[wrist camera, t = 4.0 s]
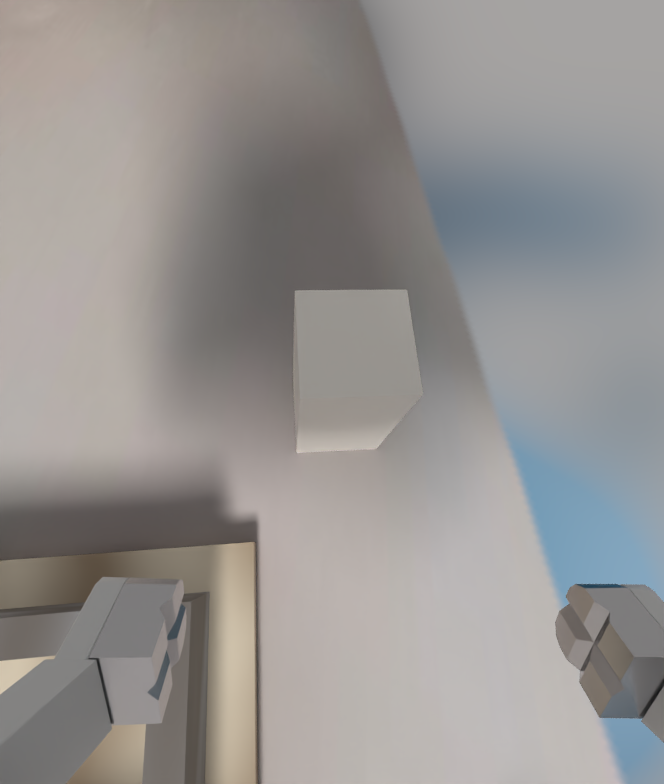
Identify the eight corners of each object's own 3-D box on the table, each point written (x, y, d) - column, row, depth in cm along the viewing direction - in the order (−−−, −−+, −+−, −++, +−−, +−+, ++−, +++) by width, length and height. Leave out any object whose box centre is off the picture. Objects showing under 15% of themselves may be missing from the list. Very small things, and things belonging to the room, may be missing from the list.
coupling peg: (296, 453, 21) (300, 398, 13) (293, 377, 22) (295, 290, 15) (376, 448, 21) (423, 394, 14) (367, 375, 23) (406, 289, 15)
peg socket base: (-210, 1067, 13) (-455, 1321, 9) (-87, 567, 18) (-205, 573, 13) (259, 978, 14) (247, 1156, 10) (255, 542, 19) (245, 540, 15)
